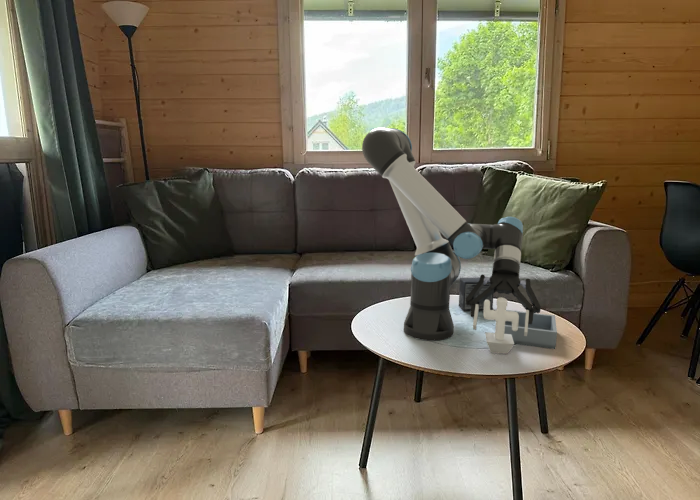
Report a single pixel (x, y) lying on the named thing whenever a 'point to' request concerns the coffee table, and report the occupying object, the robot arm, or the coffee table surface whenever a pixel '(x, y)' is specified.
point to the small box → (467, 287)
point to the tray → (534, 331)
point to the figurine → (500, 326)
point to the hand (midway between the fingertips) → (499, 330)
